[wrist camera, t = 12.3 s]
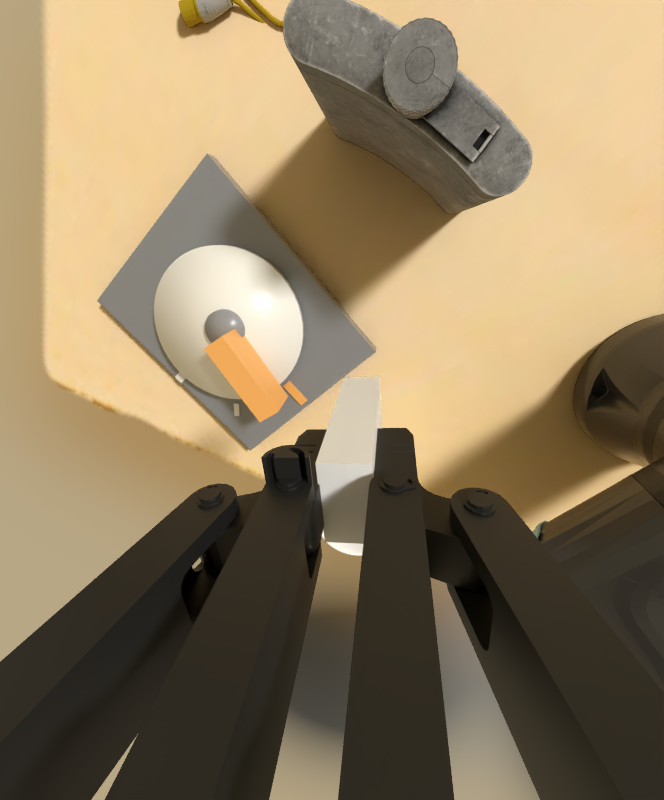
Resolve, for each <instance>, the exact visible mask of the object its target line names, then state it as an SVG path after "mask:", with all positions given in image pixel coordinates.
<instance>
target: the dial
mask: <svg viewBox="0 0 664 800" xmlns="http://www.w3.org/2000/svg"><path fill="white" fill-rule="evenodd" d="M154 321H155V326H156V331H157V334H158V337H159V341H160V343H161V345H162V347H163V350H164V351H165V353H166V355H167V357H168V358H169V360H170V361H171V362H172V364H173V365H174V366H175V368H176V369H177V370H178V371H179V372H180V373H181V374H182V375H183V376H184V377H185V378H186V379H187V380H189V381H190V382H191V383H193V384H194V385H195V386H197V387H199V388H201V389H202V390H204V391H206V392H208V393H211V394H213V395H216V396H220V397H224V398H229V399H242V400H243V401H244V403H245V404H246V405H247V406H248V408H249V409H250V410H251V412H252V413H253V414H254V416H255V417H256V418H257V420H258V421H259V422H262V421H263V420H265V419H267V418H269V417H270V416H272V415H274V414H276V413H277V412H278V411H279V410H280V408H281V407H282V405H283V404H284V402H285V401H286V399H287V398H288V395H287V394H286V392H285V391H284V390H283V388H282V387H281V386H280V384H281V383H282V382H283V381H284V380H285V379H286V378H287V377H288V375H289V374H290V373H291V371H292V370H293V369H294V367H295V365H296V363H297V362H298V359H299V357H300V354H301V351H302V347H303V342H304V320H303V314H302V310H301V307H300V303H299V301H298V299H297V296H296V294H295V292H294V290H293V289H292V287H291V285H290V284H289V282H288V281H287V279H286V278H285V277H284V275H283V274H282V273H281V272H280V271H279V270H278V269H277V268H276V267H275V266H274V265H272V264H271V263H270V262H269V261H268V260H266V259H264V258H263V257H261V256H260V255H258V254H256V253H254V252H252V251H249V250H247V249H244V248H240V247H237V246H230V245H210V246H203V247H199V248H196V249H193V250H191V251H189V252H187V253H185V254H183V255H182V256H180V257H179V258H177V259H176V260H175V261H174V262H173V263H172V264H171V265H170V266H169V267H168V269H167V270H166V271H165V273H164V274H163V276H162V278H161V280H160V282H159V285H158V288H157V291H156V295H155V300H154Z"/></svg>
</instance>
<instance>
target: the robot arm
mask: <svg viewBox="0 0 664 800" xmlns="http://www.w3.org/2000/svg"><path fill="white" fill-rule="evenodd" d="M573 404H574V411H575V415H576V418H577V420H578V422H579V424H580V426H581V427H582V429H583V430H584V431H585V432H586V433H587V434H588V435H589V436H590V437H591V438H592V439H593V440H594V441H595V442H596V443H597V444H598V445H599V446H600V447H601V448H603V449H604V450H606V451H607V452H609V453H611V454H612V455H614V456H616V457H619V458H621V459H624V460H626V461H629V462H631V463H634V464H637V465H639V466H642V467H644V468H642V469H641V470H639V471H637V472H635V473H634V474H631V475H629V476H628V477H626V478H624V479H623V480H621V481H619V482H618V483H616V484H614V485H613V486H611V487H609V488H607V489H605V490H604V491H602V492H600V493H598V494H597V495H595V496H593V497H591V498H590V499H588V500H586V501H584V502H582V503H581V504H579V505H577V506H575V507H574V508H572V509H570V510H568V511H567V512H565V513H563V514H561V515H559V516H558V517H556V518H554V519H552V520H551V521H549V522H546V521H544V522H541V523H540V524H538V525H537V526H536V529H535V530H534V531H531V530H530V529H529V528H528V526H527V525H526V524H525V523H524V521H523V520H522V519H521V518H520V517H519V515H518V514H517V513H516V512H515V510H514V509H513V508H512V507H511V506H510V504H509V503H508V502H507V501H506V500H505V499H504V498H502V497H501V496H500V495H498V494H496V493H494V492H492V491H490V490H486V489H481V488H466V489H462V490H459V491H457V492H456V493H455V494H453V495H452V498H451V499H449V498H445V497H441V496H438V495H434V494H432V493H430V492H428V491H427V490H426V489H424V488H423V487H422V486H421V484H420V483H419V481H418V477H417V467H416V458H415V448H414V438H413V435H412V434H411V433H410V431H409V430H408V429H407V428H382V420H381V392H380V377H348V378H344V381H343V384H342V387H341V389H340V392H339V395H338V398H337V401H336V404H335V407H334V410H333V413H332V416H331V419H330V422H329V425H328V428H327V430H306V431H305V432H304V433H303V434H301V435H300V436H299V437H298V439H297V441H296V443H295V445H286V446H280V447H277V448H273V449H271V450H270V451H268V452H266V453H265V454H264V455H263V456H262V457H261V458H262V464H263V469H264V474H265V480H266V484H265V486H264V488H263V490H262V491H260V492H256V493H252V494H246V495H241V496H237V494H236V491H235V489H234V488H233V487H232V486H230V485H227V484H214V485H208V486H206V487H203V488H201V489H199V490H197V492H194V493H193V494H192V495H190V496H189V497H188V498H187V499H186V500H185V501H184V502H183V503H181V504H180V505H179V506H178V507H177V508H176V509H174V510H173V511H172V512H171V513H170V514H169V515H168V516H166V517H165V518H164V519H163V520H162V521H161V522H160V523H158V524H157V525H156V526H155V527H154V528H153V529H152V530H150V531H149V532H148V533H147V534H146V535H145V536H144V537H142V538H141V539H140V540H139V541H138V542H137V543H136V544H134V545H133V546H132V547H131V548H130V549H129V550H128V551H126V552H125V553H124V554H123V555H122V556H121V557H120V558H118V559H117V560H116V561H115V562H114V563H113V564H112V565H111V566H109V567H108V568H107V569H106V570H105V571H104V572H102V573H101V574H100V575H99V576H98V577H97V578H96V579H94V580H93V581H92V582H91V583H90V584H89V585H88V586H86V587H85V588H84V589H83V590H82V591H81V592H80V593H78V594H77V595H76V596H75V597H74V598H73V599H72V600H70V601H69V602H68V603H67V604H66V605H65V606H64V607H63V608H61V609H60V610H59V611H58V612H57V613H56V614H54V615H53V616H52V617H51V618H50V619H49V620H48V621H46V622H45V623H44V624H43V625H42V626H41V627H40V628H38V629H37V630H36V631H35V632H34V633H33V634H32V635H30V636H29V637H28V638H27V639H26V640H25V641H24V642H22V643H21V644H20V645H19V646H18V647H17V648H16V649H14V650H13V651H12V652H11V653H10V654H9V655H8V656H6V657H5V658H4V659H3V660H2V661H1V662H0V800H91V799H92V798H93V796H94V795H95V793H96V792H97V791H98V789H99V788H100V786H101V785H102V784H103V782H104V781H105V779H106V778H107V777H108V775H109V774H110V772H111V771H112V770H113V768H114V767H115V765H116V764H117V762H118V761H119V760H120V758H121V757H122V755H123V754H124V753H125V751H126V750H127V748H128V747H129V745H130V744H131V743H132V741H133V740H134V738H135V737H136V736H137V737H136V739H135V741H134V744H133V745H132V747H131V749H130V751H129V753H128V755H127V757H126V759H125V761H124V763H123V765H122V767H121V769H120V771H119V773H118V775H117V777H116V779H115V781H114V782H113V785H112V787H111V788H110V790H109V792H108V795H107V796H106V798H105V800H269V797H270V792H271V788H272V783H273V779H274V774H275V770H276V765H277V760H278V756H279V751H280V746H281V742H282V737H283V733H284V728H285V723H286V718H287V714H288V709H289V705H290V701H291V696H292V691H293V686H294V682H295V678H296V673H297V668H298V664H299V659H300V655H301V650H302V645H303V641H304V636H305V631H306V627H307V622H308V617H309V613H310V609H311V604H312V600H313V595H314V590H315V585H316V581H317V577H318V572H319V567H320V562H321V558H322V549H321V537H322V533H323V531H324V539H325V542H335V543H356V544H363V552H362V562H361V563H362V564H361V572H360V583H359V594H358V603H357V614H356V623H355V634H354V644H353V654H352V664H351V674H350V684H349V694H348V704H347V715H346V725H345V735H344V746H343V756H342V765H341V775H340V785H339V797H338V800H454V794H453V784H452V775H451V766H450V756H449V747H448V738H447V728H446V720H445V710H444V701H443V692H442V682H441V673H440V663H439V654H438V645H437V635H436V626H435V617H434V609H433V598H432V589H431V580H430V577H431V578H434V579H437V580H440V581H442V582H445V583H447V587H448V590H449V593H450V595H451V597H452V600H453V602H454V604H455V607H456V609H457V611H458V613H459V616H460V618H461V620H462V622H463V625H464V627H465V629H466V632H467V634H468V636H469V638H470V641H471V643H472V645H473V647H474V650H475V652H476V654H477V657H478V659H479V661H480V663H481V666H482V668H483V670H484V673H485V675H486V677H487V679H488V682H489V684H490V686H491V688H492V691H493V693H494V695H495V698H496V700H497V702H498V704H499V707H500V709H501V711H502V713H503V716H504V718H505V720H506V723H507V725H508V727H509V729H510V732H511V734H512V736H513V738H514V741H515V743H516V745H517V747H518V750H519V752H520V755H521V757H522V759H523V761H524V764H525V766H526V768H527V770H528V773H529V775H530V777H531V780H532V782H533V784H534V786H535V788H536V791H537V793H538V795H539V798H540V800H664V314H661V315H657V316H653V317H650V318H646V319H644V320H641V321H638V322H636V323H634V324H632V325H630V326H628V327H626V328H624V329H622V330H621V331H619V332H617V333H616V334H614V335H613V336H612V337H610V338H609V339H608V340H606V341H605V342H604V343H603V344H602V345H601V346H600V347H599V348H598V349H597V350H596V351H595V352H594V353H593V354H592V355H591V357H590V358H589V359H588V361H587V362H586V363H585V365H584V367H583V368H582V370H581V372H580V374H579V376H578V379H577V382H576V385H575V389H574V397H573ZM199 557H200V558H201V561H202V562H201V563H200V564H199V565H198V566H197V567H196V568H194V569H193V568H192V565H193V564H194V563H195V562H196V561H197V560H198V559H199ZM137 734H138V735H137Z"/></svg>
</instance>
